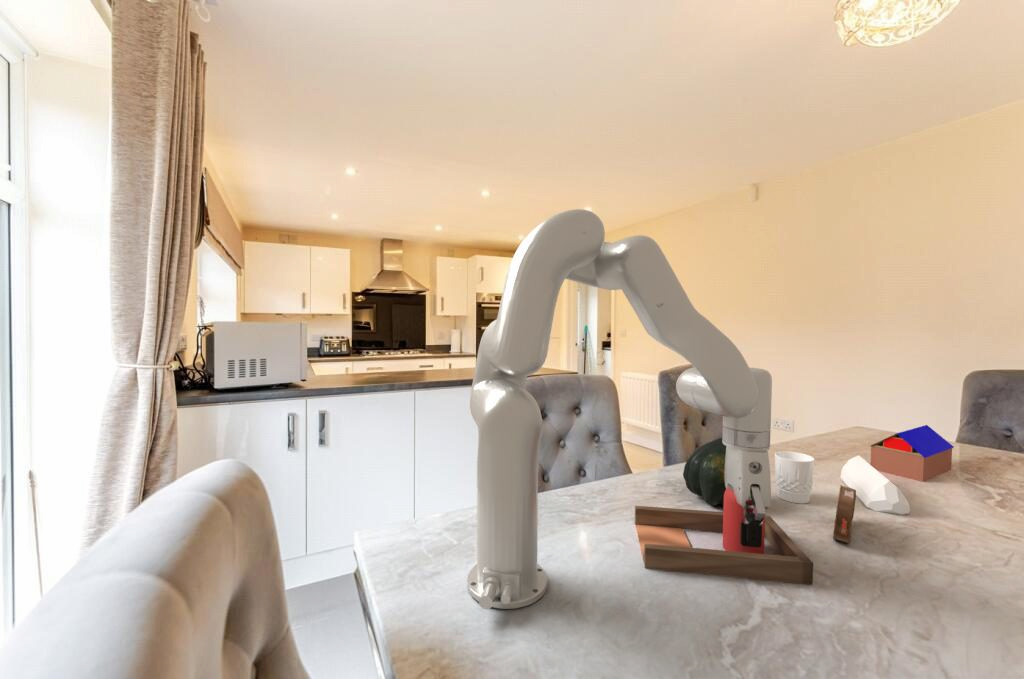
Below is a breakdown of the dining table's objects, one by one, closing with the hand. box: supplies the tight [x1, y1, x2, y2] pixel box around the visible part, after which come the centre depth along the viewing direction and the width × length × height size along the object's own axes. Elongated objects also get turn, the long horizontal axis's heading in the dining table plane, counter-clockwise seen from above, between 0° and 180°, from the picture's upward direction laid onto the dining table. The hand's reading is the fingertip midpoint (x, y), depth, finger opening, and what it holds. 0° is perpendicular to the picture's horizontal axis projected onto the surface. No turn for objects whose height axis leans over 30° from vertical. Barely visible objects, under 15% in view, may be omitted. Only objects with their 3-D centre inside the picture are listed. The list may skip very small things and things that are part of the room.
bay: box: [634, 505, 814, 586], centre depth 79 cm, size 17×26×4 cm, turn 80°
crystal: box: [840, 454, 911, 516], centre depth 104 cm, size 7×7×24 cm
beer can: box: [722, 483, 765, 554], centre depth 78 cm, size 7×7×12 cm
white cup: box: [774, 450, 816, 505], centre depth 102 cm, size 8×8×10 cm
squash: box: [682, 437, 726, 507], centre depth 101 cm, size 14×15×15 cm
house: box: [869, 424, 954, 483], centre depth 123 cm, size 12×20×12 cm, turn 119°
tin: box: [832, 485, 857, 544], centre depth 85 cm, size 15×3×8 cm, turn 141°
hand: (743, 534), depth 78 cm, fingers closed on beer can, 6 cm apart
